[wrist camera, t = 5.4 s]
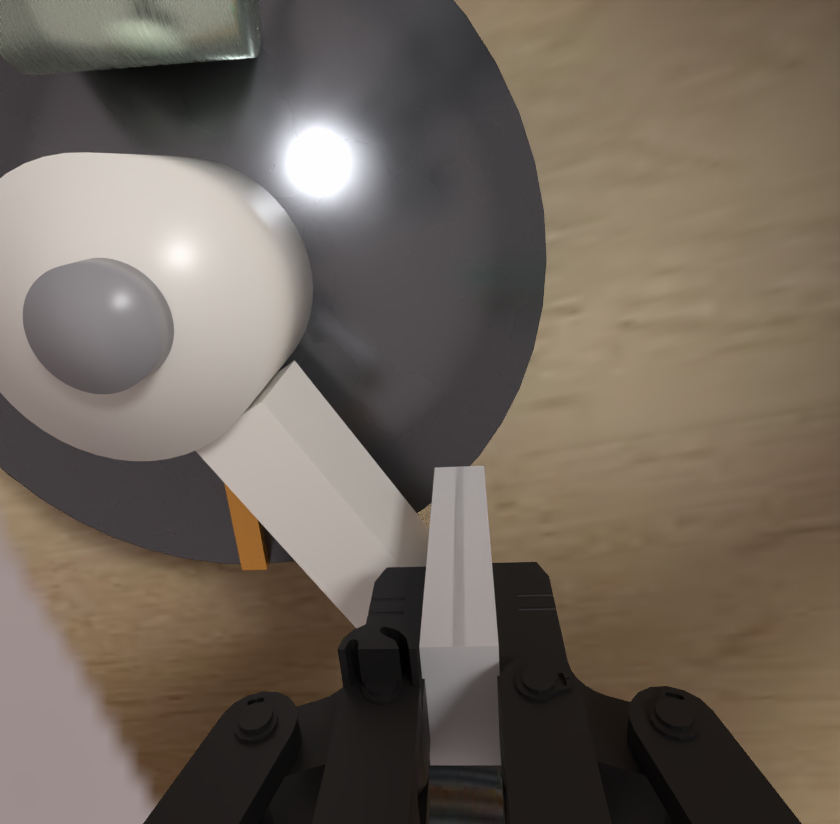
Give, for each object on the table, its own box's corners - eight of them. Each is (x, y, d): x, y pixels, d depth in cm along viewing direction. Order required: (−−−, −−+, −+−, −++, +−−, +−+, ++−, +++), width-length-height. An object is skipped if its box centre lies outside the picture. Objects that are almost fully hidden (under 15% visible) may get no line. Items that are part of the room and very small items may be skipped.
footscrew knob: (34, 252, 16) (-149, 289, 11) (204, 101, 14) (81, 67, 9) (379, 637, 20) (358, 787, 15) (537, 552, 18) (570, 688, 14)
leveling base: (-156, -65, 16) (-427, -169, 11) (532, -130, 15) (576, -279, 10) (43, 522, 23) (-71, 623, 18) (529, 505, 22) (555, 607, 17)
